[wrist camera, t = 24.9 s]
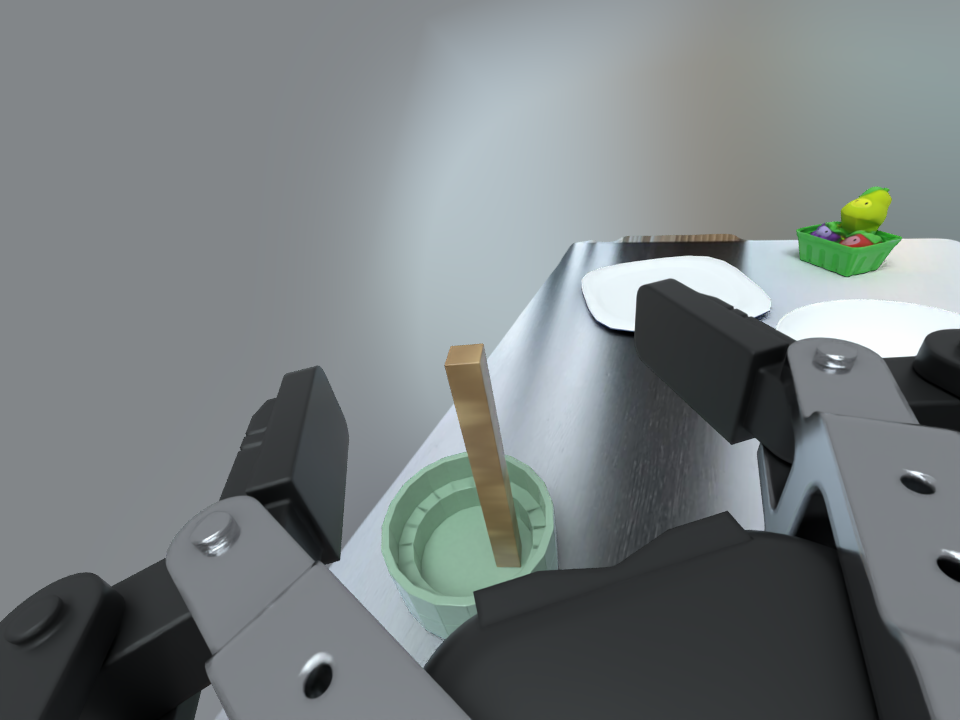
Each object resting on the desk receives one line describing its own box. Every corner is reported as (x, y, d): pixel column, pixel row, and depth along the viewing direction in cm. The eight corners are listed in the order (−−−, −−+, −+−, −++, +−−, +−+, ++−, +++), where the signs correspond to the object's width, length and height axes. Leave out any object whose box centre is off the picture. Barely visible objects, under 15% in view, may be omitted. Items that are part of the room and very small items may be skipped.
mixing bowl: (381, 641, 30) (354, 600, 27) (423, 494, 41) (408, 452, 38) (561, 654, 28) (555, 611, 25) (556, 494, 39) (551, 449, 35)
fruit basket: (785, 258, 71) (802, 190, 65) (833, 247, 71) (855, 178, 65) (845, 282, 61) (872, 204, 55) (900, 269, 62) (932, 191, 56)
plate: (575, 276, 79) (574, 268, 78) (714, 258, 76) (716, 249, 75) (598, 345, 58) (598, 335, 57) (792, 325, 55) (796, 313, 54)
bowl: (729, 364, 50) (740, 311, 46) (894, 345, 48) (919, 288, 44) (831, 484, 35) (860, 420, 31) (1079, 464, 33) (1144, 394, 29)
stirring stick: (496, 567, 33) (443, 365, 22) (498, 544, 35) (450, 345, 24) (521, 568, 33) (479, 362, 22) (521, 544, 34) (483, 342, 24)
